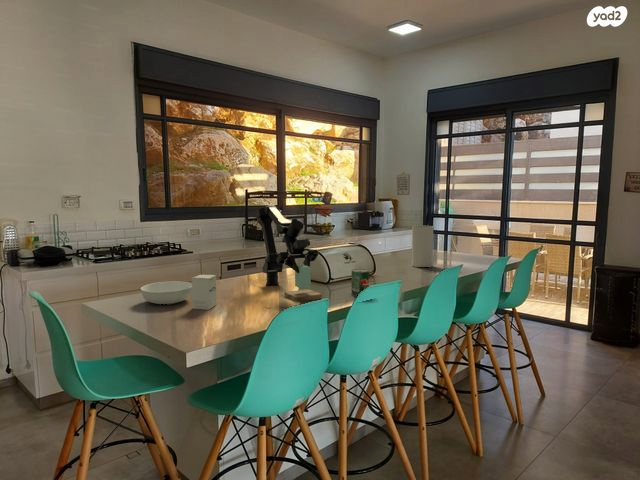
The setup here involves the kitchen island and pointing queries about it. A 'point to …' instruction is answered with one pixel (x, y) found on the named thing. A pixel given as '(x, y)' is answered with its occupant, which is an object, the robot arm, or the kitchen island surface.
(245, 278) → the kitchen island surface
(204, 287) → the supplement box
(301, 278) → the teal block
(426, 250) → the cylinder vase
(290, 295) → the walnut board
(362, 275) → the canned tomato
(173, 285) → the serving bowl
